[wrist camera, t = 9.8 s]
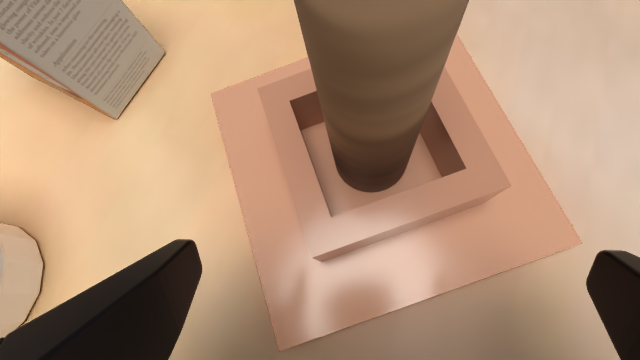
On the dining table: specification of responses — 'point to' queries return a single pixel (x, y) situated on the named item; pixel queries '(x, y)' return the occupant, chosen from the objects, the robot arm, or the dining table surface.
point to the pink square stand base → (381, 202)
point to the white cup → (17, 276)
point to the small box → (80, 48)
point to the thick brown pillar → (376, 78)
